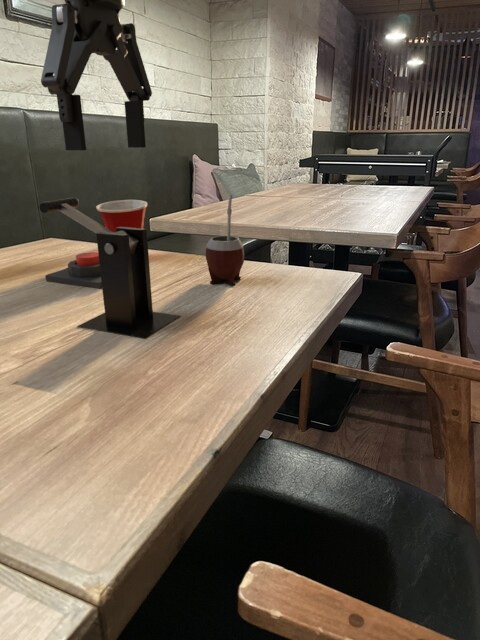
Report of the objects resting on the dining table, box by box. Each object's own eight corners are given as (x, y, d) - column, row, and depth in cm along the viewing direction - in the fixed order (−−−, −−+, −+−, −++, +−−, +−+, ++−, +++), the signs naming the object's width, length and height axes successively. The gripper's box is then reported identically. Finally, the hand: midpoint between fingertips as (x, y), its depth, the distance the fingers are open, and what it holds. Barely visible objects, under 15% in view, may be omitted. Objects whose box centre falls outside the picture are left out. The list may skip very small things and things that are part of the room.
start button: (71, 266, 88) (70, 256, 88) (88, 260, 92) (87, 251, 91) (91, 268, 87) (90, 258, 86) (107, 262, 90) (106, 253, 90)
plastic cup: (91, 262, 106) (85, 205, 101) (117, 251, 115) (112, 199, 111) (136, 265, 103) (132, 207, 98) (159, 254, 112) (156, 200, 108)
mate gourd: (217, 289, 87) (215, 202, 81) (198, 278, 93) (195, 197, 88) (253, 282, 90) (253, 199, 85) (232, 273, 97) (231, 194, 91)
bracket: (78, 334, 67) (64, 234, 63) (118, 313, 75) (109, 222, 70) (145, 346, 63) (136, 240, 58) (180, 323, 71) (175, 227, 66)
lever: (37, 213, 65) (41, 197, 64) (69, 207, 70) (72, 192, 69) (114, 262, 63) (119, 246, 62) (141, 252, 68) (146, 237, 67)
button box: (46, 287, 88) (43, 265, 87) (84, 273, 97) (81, 253, 96) (100, 295, 84) (98, 272, 83) (135, 279, 93) (133, 259, 91)
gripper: (41, -69, 50) (68, 151, 58) (169, -9, 71) (176, 146, 79) (-13, -57, 53) (20, 151, 60) (126, -3, 74) (137, 146, 82)
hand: (109, 149), depth 70 cm, fingers open, 13 cm apart
